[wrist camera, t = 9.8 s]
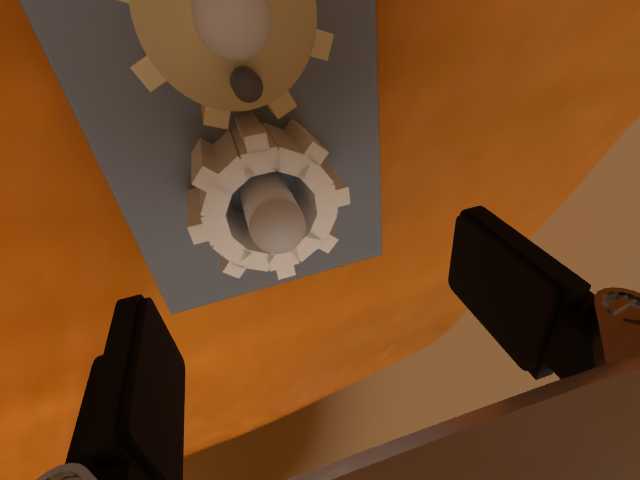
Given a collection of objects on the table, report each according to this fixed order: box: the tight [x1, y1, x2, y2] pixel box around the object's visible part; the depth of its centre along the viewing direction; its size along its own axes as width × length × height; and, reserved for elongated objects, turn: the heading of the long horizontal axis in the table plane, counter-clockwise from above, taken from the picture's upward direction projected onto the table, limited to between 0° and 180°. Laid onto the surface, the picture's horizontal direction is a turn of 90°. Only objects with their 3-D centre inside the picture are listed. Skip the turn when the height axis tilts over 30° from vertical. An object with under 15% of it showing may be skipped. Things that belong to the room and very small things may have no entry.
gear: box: [187, 110, 350, 280], centre depth 18 cm, size 7×7×4 cm
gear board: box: [19, 0, 382, 314], centre depth 15 cm, size 22×14×8 cm, turn 7°
